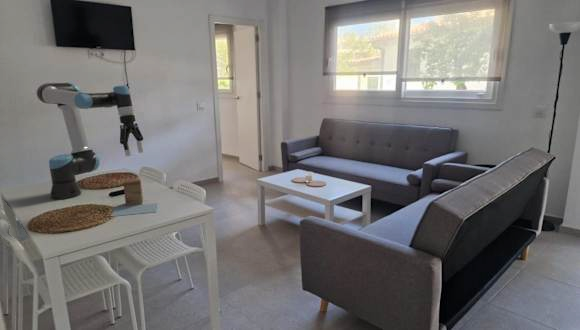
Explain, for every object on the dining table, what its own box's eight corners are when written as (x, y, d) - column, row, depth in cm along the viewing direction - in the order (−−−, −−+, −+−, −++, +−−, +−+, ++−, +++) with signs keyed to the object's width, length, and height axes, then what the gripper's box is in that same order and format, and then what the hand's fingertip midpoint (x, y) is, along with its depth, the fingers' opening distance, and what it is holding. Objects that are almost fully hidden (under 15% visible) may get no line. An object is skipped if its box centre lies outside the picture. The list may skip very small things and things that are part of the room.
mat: (109, 207, 190) (109, 207, 190) (157, 203, 196) (157, 203, 196) (103, 217, 176) (103, 216, 176) (156, 212, 183) (156, 211, 183)
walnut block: (127, 202, 197) (124, 179, 194) (142, 201, 200) (140, 178, 197) (125, 205, 193) (123, 182, 190) (142, 204, 195) (139, 181, 192)
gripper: (120, 114, 181) (129, 156, 185) (144, 113, 206) (152, 150, 209) (106, 117, 182) (116, 158, 185) (132, 115, 207) (139, 152, 210)
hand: (135, 154), depth 197 cm, fingers open, 13 cm apart
